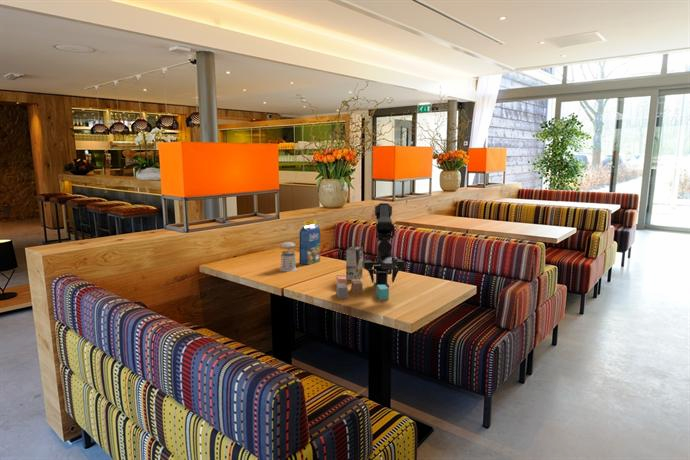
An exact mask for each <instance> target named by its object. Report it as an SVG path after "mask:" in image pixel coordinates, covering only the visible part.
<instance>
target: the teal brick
mask: <svg viewBox="0 0 690 460" xmlns="http://www.w3.org/2000/svg"><path fill="white" fill-rule="evenodd" d="M376 297H377V298H378V300H379V301H389V299H390V288H389V287H387V286H386V285H377V287H376Z"/></svg>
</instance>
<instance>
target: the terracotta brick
mask: <svg viewBox="0 0 690 460" xmlns="http://www.w3.org/2000/svg"><path fill="white" fill-rule="evenodd" d="M335 277H336V278H335V279H336V281H335V282H336V284H340V283H345V284H346V286H347V287H348V285H347V284H348V280H347V278H346V274H337V275H336V276H335Z"/></svg>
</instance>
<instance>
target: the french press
mask: <svg viewBox="0 0 690 460" xmlns="http://www.w3.org/2000/svg"><path fill="white" fill-rule="evenodd" d="M290 227H291V226H290V224H286V228H290ZM295 246H296V243H294V242H292V241H285V242H282V243H281V244H280V247H283V248H288V250H283V251H281V253H282V254H281V255H280V258H281V259H280V260H281V261H280V263H281V264H280V265H281V267H280V268H279V271H281V272H295V271H297V270H298V268H297V267H296V254H295V251H294V249H293V248H294V247H295ZM289 248H291V250H290V249H289Z"/></svg>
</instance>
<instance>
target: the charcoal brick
mask: <svg viewBox="0 0 690 460" xmlns="http://www.w3.org/2000/svg"><path fill="white" fill-rule="evenodd" d="M335 286H336V288H335V289H336V290H335V291H336V296H337V298H338V299H341V300H342V299H348V292H349V291H348V285H347V286H346V284H345V283H340V284H336V285H335Z"/></svg>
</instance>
